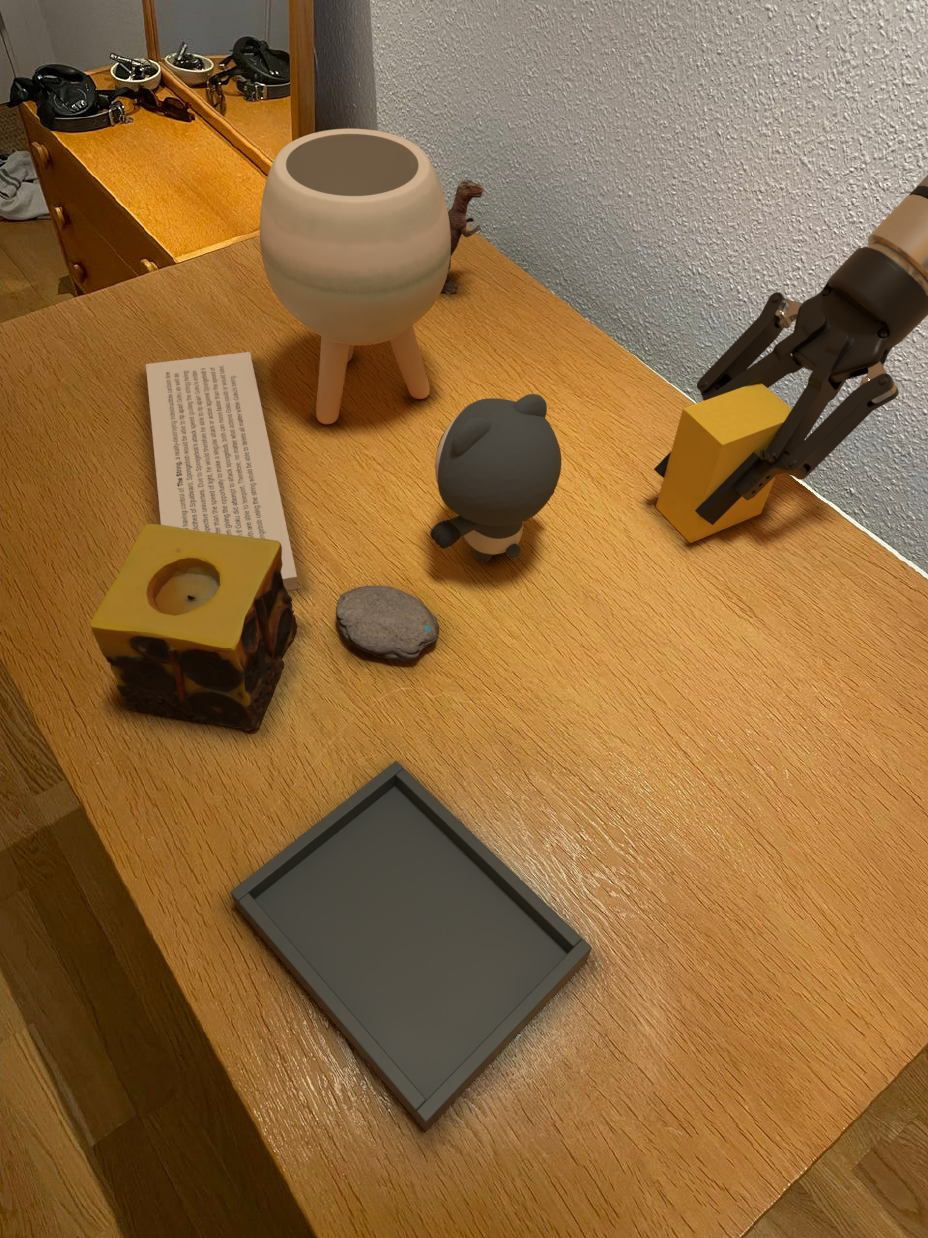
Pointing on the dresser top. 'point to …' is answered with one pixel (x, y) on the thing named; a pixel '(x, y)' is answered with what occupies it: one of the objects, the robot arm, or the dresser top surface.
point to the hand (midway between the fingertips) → (683, 496)
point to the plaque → (215, 451)
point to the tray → (411, 938)
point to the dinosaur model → (460, 221)
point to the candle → (197, 625)
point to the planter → (356, 247)
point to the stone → (386, 622)
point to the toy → (495, 473)
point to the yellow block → (718, 456)
